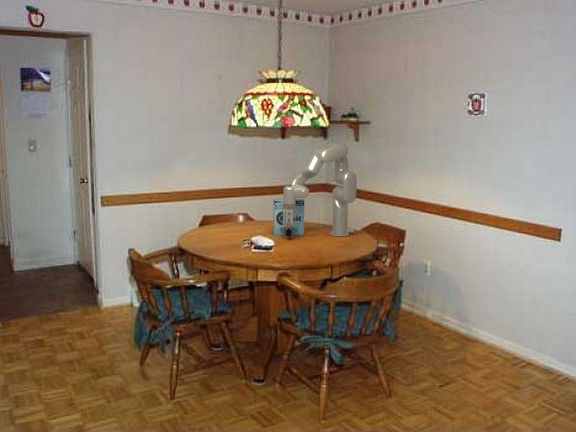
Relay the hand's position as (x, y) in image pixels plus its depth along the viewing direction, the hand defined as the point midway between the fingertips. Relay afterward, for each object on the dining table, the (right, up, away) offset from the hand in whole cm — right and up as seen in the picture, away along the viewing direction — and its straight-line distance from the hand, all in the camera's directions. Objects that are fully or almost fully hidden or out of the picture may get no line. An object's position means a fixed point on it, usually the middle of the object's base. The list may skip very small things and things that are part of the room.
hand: (288, 235), depth 360 cm
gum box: (0, 0, +15) cm, 15 cm away
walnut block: (0, -1, +7) cm, 7 cm away
